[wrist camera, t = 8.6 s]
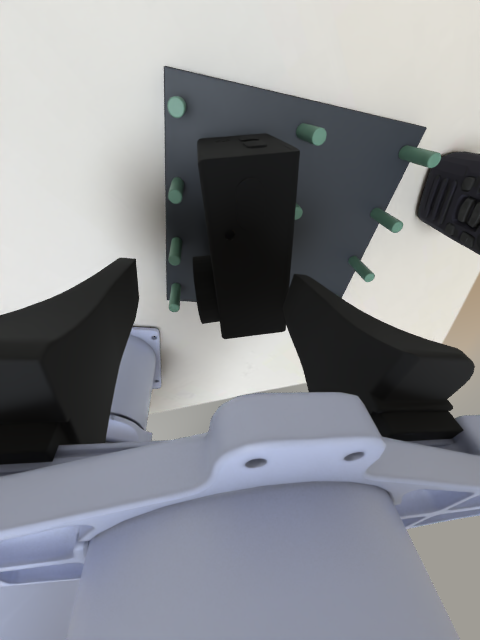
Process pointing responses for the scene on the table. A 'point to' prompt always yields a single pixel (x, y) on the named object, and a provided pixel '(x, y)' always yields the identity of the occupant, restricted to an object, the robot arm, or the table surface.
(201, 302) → the digital camera
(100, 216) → the table surface
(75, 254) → the table surface
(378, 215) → the rack
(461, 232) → the two-way radio
